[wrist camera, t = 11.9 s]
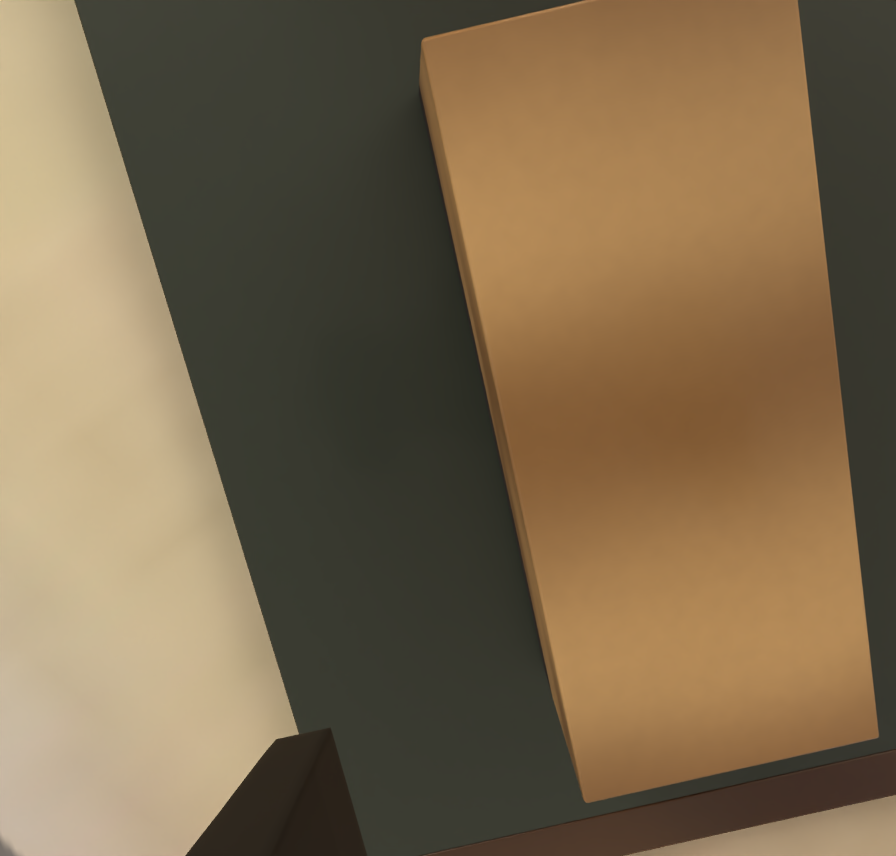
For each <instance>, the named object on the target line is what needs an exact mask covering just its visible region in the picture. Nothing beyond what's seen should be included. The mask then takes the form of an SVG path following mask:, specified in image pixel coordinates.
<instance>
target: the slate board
mask: <svg viewBox="0 0 896 856" xmlns="http://www.w3.org/2000/svg"><path fill="white" fill-rule="evenodd" d="M74 1H75V4H76V7H77V11H78V14H79V17H80V20H81V24H82V27H83V30H84V33H85V37H86V40H87V43H88V46H89V50H90V53H91V56H92V59H93V63H94V66H95V69H96V73H97V76H98V79H99V82H100V86H101V89H102V92H103V95H104V99H105V102H106V105H107V108H108V112H109V115H110V118H111V122H112V125H113V128H114V131H115V135H116V138H117V141H118V144H119V148H120V151H121V154H122V157H123V161H124V164H125V167H126V171H127V174H128V177H129V180H130V184H131V187H132V190H133V193H134V197H135V200H136V203H137V206H138V210H139V213H140V216H141V219H142V223H143V226H144V229H145V233H146V236H147V239H148V242H149V246H150V249H151V252H152V255H153V259H154V262H155V265H156V268H157V272H158V275H159V278H160V282H161V285H162V288H163V291H164V295H165V298H166V301H167V304H168V308H169V311H170V314H171V317H172V321H173V324H174V327H175V331H176V334H177V337H178V340H179V344H180V347H181V350H182V353H183V357H184V360H185V363H186V366H187V370H188V373H189V376H190V379H191V383H192V386H193V389H194V393H195V396H196V399H197V402H198V406H199V409H200V412H201V415H202V419H203V422H204V425H205V428H206V432H207V435H208V438H209V442H210V445H211V448H212V451H213V455H214V458H215V461H216V464H217V468H218V471H219V474H220V477H221V481H222V484H223V487H224V491H225V494H226V497H227V500H228V504H229V507H230V510H231V513H232V517H233V520H234V523H235V526H236V530H237V533H238V536H239V539H240V543H241V546H242V549H243V553H244V556H245V559H246V562H247V566H248V569H249V572H250V575H251V579H252V582H253V585H254V588H255V592H256V595H257V598H258V602H259V605H260V608H261V611H262V615H263V618H264V621H265V624H266V628H267V631H268V634H269V637H270V641H271V644H272V647H273V651H274V654H275V657H276V660H277V664H278V667H279V670H280V673H281V677H282V680H283V683H284V686H285V690H286V693H287V696H288V699H289V703H290V706H291V709H292V713H293V716H294V719H295V722H296V726H297V729H298V732H299V734H303V733H308V732H312V731H317V730H322V729H326V728H331V730H332V734H333V737H334V741H335V744H336V748H337V751H338V755H339V758H340V762H341V765H342V769H343V772H344V776H345V779H346V783H347V786H348V790H349V793H350V797H351V800H352V804H353V807H354V811H355V814H356V818H357V821H358V825H359V828H360V832H361V835H362V839H363V842H364V846H365V849H366V853H367V856H624V855H628V854H633V853H637V852H642V851H646V850H651V849H655V848H660V847H664V846H669V845H673V844H678V843H682V842H686V841H691V840H695V839H700V838H704V837H709V836H713V835H718V834H722V833H727V832H731V831H736V830H740V829H745V828H749V827H754V826H758V825H762V824H767V823H771V822H776V821H780V820H785V819H789V818H794V817H798V816H803V815H807V814H812V813H816V812H821V811H825V810H829V809H834V808H838V807H843V806H847V805H852V804H856V803H861V802H865V801H870V800H874V799H879V798H883V797H888V796H892V795H896V0H798V8H799V17H800V26H801V35H802V44H803V53H804V63H805V72H806V81H807V90H808V99H809V108H810V117H811V126H812V135H813V144H814V153H815V162H816V171H817V180H818V189H819V198H820V207H821V216H822V225H823V234H824V243H825V252H826V261H827V270H828V280H829V289H830V298H831V307H832V316H833V325H834V334H835V343H836V352H837V361H838V370H839V379H840V388H841V397H842V406H843V415H844V424H845V433H846V442H847V451H848V460H849V469H850V478H851V487H852V497H853V506H854V515H855V524H856V533H857V542H858V551H859V560H860V569H861V578H862V587H863V596H864V605H865V614H866V623H867V632H868V641H869V650H870V659H871V668H872V677H873V686H874V695H875V704H876V714H877V723H878V732H879V737H878V738H876V739H872V740H867V741H863V742H858V743H854V744H849V745H845V746H840V747H836V748H831V749H827V750H823V751H818V752H814V753H809V754H805V755H800V756H796V757H791V758H787V759H782V760H778V761H773V762H769V763H765V764H760V765H756V766H751V767H747V768H742V769H738V770H733V771H729V772H724V773H720V774H715V775H711V776H707V777H702V778H698V779H693V780H689V781H684V782H680V783H675V784H671V785H666V786H662V787H657V788H653V789H649V790H644V791H640V792H635V793H631V794H626V795H622V796H617V797H613V798H608V799H604V800H599V801H595V802H591V803H586V802H585V801H584V800H583V797H582V793H581V790H580V787H579V783H578V780H577V777H576V773H575V770H574V767H573V763H572V760H571V757H570V754H569V750H568V747H567V744H566V740H565V737H564V734H563V730H562V727H561V724H560V720H559V717H558V714H557V711H556V707H555V704H554V701H553V697H552V694H551V691H550V687H549V684H548V681H547V677H546V674H545V670H544V666H543V661H542V657H541V652H540V647H539V643H538V638H537V634H536V629H535V625H534V620H533V615H532V611H531V606H530V602H529V597H528V593H527V588H526V583H525V579H524V574H523V570H522V565H521V560H520V556H519V551H518V547H517V542H516V538H515V533H514V528H513V524H512V519H511V515H510V510H509V506H508V501H507V496H506V492H505V487H504V483H503V478H502V473H501V469H500V464H499V460H498V455H497V451H496V446H495V441H494V437H493V432H492V428H491V423H490V419H489V414H488V409H487V405H486V400H485V396H484V391H483V387H482V382H481V377H480V373H479V368H478V364H477V359H476V354H475V350H474V345H473V341H472V336H471V332H470V327H469V322H468V318H467V313H466V309H465V304H464V300H463V295H462V290H461V286H460V281H459V277H458V272H457V267H456V263H455V258H454V254H453V249H452V245H451V240H450V235H449V231H448V226H447V222H446V217H445V213H444V208H443V203H442V199H441V194H440V190H439V185H438V180H437V176H436V171H435V167H434V162H433V158H432V153H431V148H430V144H429V139H428V135H427V130H426V126H425V121H424V116H423V112H422V107H421V103H420V98H419V74H420V57H421V42H422V40H423V39H424V38H426V37H430V36H434V35H439V34H443V33H447V32H451V31H456V30H460V29H464V28H469V27H473V26H477V25H481V24H486V23H490V22H494V21H498V20H503V19H507V18H511V17H516V16H520V15H524V14H528V13H533V12H537V11H541V10H545V9H550V8H554V7H558V6H563V5H567V4H571V3H575V2H580V1H584V0H74Z"/></svg>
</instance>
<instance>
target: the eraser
mask: <svg viewBox="0 0 896 856" xmlns="http://www.w3.org/2000/svg"><path fill="white" fill-rule="evenodd" d="M419 98H420V103H421V107H422V112H423V116H424V121H425V126H426V130H427V135H428V139H429V144H430V148H431V153H432V158H433V162H434V167H435V171H436V176H437V180H438V185H439V190H440V194H441V199H442V203H443V208H444V213H445V217H446V222H447V226H448V231H449V235H450V240H451V245H452V249H453V254H454V258H455V263H456V267H457V272H458V277H459V281H460V286H461V290H462V295H463V300H464V304H465V309H466V313H467V318H468V322H469V327H470V332H471V336H472V341H473V345H474V350H475V354H476V359H477V364H478V368H479V373H480V377H481V382H482V387H483V391H484V396H485V400H486V405H487V409H488V414H489V419H490V423H491V428H492V432H493V437H494V441H495V446H496V451H497V455H498V460H499V464H500V469H501V473H502V478H503V483H504V487H505V492H506V496H507V501H508V506H509V510H510V515H511V519H512V524H513V528H514V533H515V538H516V542H517V547H518V551H519V556H520V560H521V565H522V570H523V574H524V579H525V583H526V588H527V593H528V597H529V602H530V606H531V611H532V615H533V620H534V625H535V629H536V634H537V638H538V643H539V647H540V652H541V657H542V661H543V666H544V670H545V674H546V677H547V681H548V684H549V687H550V691H551V694H552V697H553V701H554V704H555V707H556V711H557V714H558V717H559V720H560V724H561V727H562V730H563V734H564V737H565V740H566V744H567V747H568V750H569V754H570V757H571V760H572V763H573V767H574V770H575V773H576V777H577V780H578V783H579V787H580V790H581V793H582V797H583V800H584V801H585V802H586V803H591V802H595V801H599V800H604V799H608V798H613V797H617V796H622V795H626V794H631V793H635V792H640V791H644V790H649V789H653V788H657V787H662V786H666V785H671V784H675V783H680V782H684V781H689V780H693V779H698V778H702V777H707V776H711V775H715V774H720V773H724V772H729V771H733V770H738V769H742V768H747V767H751V766H756V765H760V764H765V763H769V762H773V761H778V760H782V759H787V758H791V757H796V756H800V755H805V754H809V753H814V752H818V751H823V750H827V749H831V748H836V747H840V746H845V745H849V744H854V743H858V742H863V741H867V740H872V739H876V738H878V737H879V732H878V723H877V714H876V704H875V695H874V686H873V677H872V668H871V659H870V650H869V641H868V632H867V623H866V614H865V605H864V596H863V587H862V578H861V569H860V560H859V551H858V542H857V533H856V524H855V515H854V506H853V497H852V487H851V478H850V469H849V460H848V451H847V442H846V433H845V424H844V415H843V406H842V397H841V388H840V379H839V370H838V361H837V352H836V343H835V334H834V325H833V316H832V307H831V298H830V289H829V280H828V270H827V261H826V252H825V243H824V234H823V225H822V216H821V207H820V198H819V189H818V180H817V171H816V162H815V153H814V144H813V135H812V126H811V117H810V108H809V99H808V90H807V81H806V72H805V63H804V53H803V44H802V35H801V26H800V17H799V8H798V0H584V1H580V2H575V3H571V4H567V5H563V6H558V7H554V8H550V9H545V10H541V11H537V12H533V13H528V14H524V15H520V16H516V17H511V18H507V19H503V20H498V21H494V22H490V23H486V24H481V25H477V26H473V27H469V28H464V29H460V30H456V31H451V32H447V33H443V34H439V35H434V36H430V37H426V38H424V39H423V40H422V42H421V57H420V74H419Z"/></svg>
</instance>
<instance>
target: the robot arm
mask: <svg viewBox="0 0 896 856" xmlns="http://www.w3.org/2000/svg"><path fill="white" fill-rule="evenodd" d="M186 856H367V853H366V849H365V846H364V842H363V839H362V835H361V832H360V828H359V825H358V821H357V818H356V814H355V811H354V807H353V804H352V800H351V797H350V793H349V790H348V786H347V783H346V779H345V776H344V772H343V769H342V765H341V762H340V758H339V755H338V751H337V748H336V744H335V741H334V737H333V734H332V730H331V728H326V729H322V730H317V731H312V732H308V733H303V734H299V735H294V736H290V737H285V738H280V739H276V740H275V741H274V743H273V744H272V745H271V746H270V747H269V748H268V750H267V751H266V752H265V753H264V755H263V756H262V757H261V758H260V760H259V761H258V762H257V764H256V765H255V766H254V767H253V769H252V770H251V771H250V773H249V774H248V775H247V777H246V778H245V779H244V781H243V782H242V783H241V785H240V786H239V787H238V788H237V790H236V791H235V792H234V794H233V795H232V796H231V798H230V799H229V800H228V802H227V803H226V804H225V806H224V807H223V808H222V810H221V811H220V812H219V813H218V815H217V816H216V817H215V819H214V820H213V821H212V822H211V824H210V825H209V826H208V828H207V829H206V830H205V831H204V833H203V834H202V835H201V836H200V838H199V839H198V840H197V842H196V843H195V844H194V845H193V847H192V848H191V849H190V851H189V852H188V853H187V854H186Z"/></svg>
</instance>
